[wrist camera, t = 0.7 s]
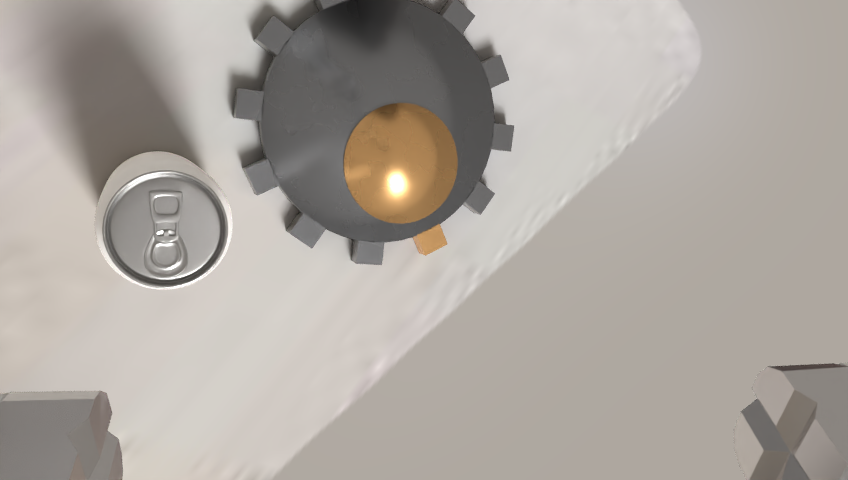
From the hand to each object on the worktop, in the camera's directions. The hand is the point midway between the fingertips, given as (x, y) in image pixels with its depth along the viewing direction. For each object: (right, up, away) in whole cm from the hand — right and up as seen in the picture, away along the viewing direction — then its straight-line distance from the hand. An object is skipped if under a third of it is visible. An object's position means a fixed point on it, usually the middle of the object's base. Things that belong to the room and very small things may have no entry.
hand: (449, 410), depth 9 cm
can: (-17, +4, +37) cm, 41 cm away
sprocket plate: (-3, +10, +41) cm, 43 cm away
